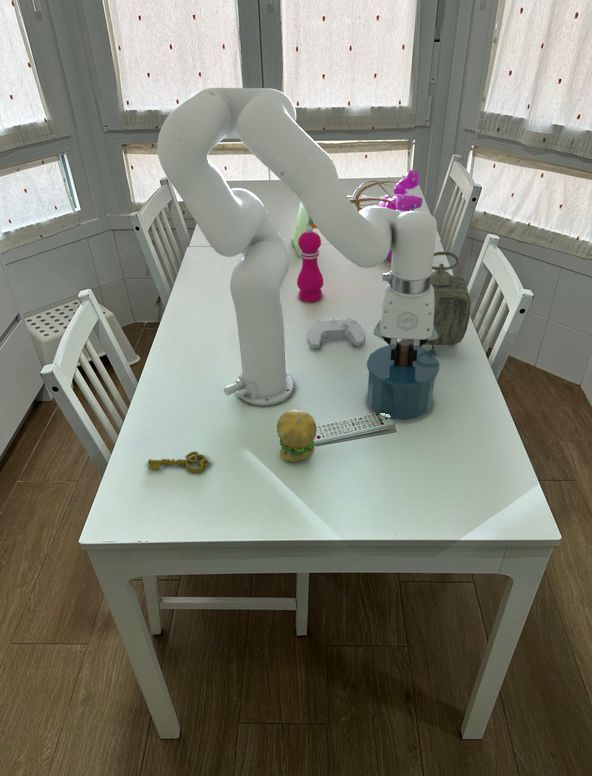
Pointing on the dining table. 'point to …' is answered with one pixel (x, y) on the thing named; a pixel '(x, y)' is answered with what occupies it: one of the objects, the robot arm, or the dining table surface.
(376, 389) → the crock
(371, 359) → the lid
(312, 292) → the pepper mill
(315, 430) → the hamburger
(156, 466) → the key
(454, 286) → the tabletop clock
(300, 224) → the magenta orchid sprig
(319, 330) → the game controller
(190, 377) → the dining table surface
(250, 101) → the robot arm
